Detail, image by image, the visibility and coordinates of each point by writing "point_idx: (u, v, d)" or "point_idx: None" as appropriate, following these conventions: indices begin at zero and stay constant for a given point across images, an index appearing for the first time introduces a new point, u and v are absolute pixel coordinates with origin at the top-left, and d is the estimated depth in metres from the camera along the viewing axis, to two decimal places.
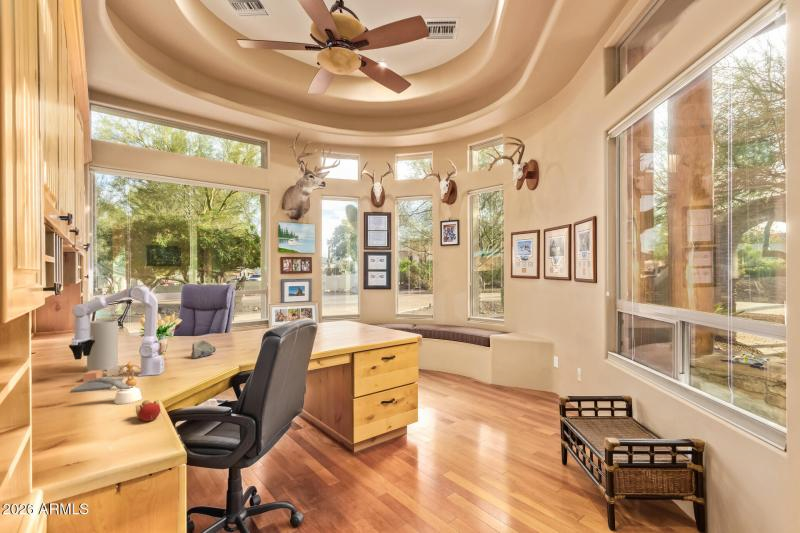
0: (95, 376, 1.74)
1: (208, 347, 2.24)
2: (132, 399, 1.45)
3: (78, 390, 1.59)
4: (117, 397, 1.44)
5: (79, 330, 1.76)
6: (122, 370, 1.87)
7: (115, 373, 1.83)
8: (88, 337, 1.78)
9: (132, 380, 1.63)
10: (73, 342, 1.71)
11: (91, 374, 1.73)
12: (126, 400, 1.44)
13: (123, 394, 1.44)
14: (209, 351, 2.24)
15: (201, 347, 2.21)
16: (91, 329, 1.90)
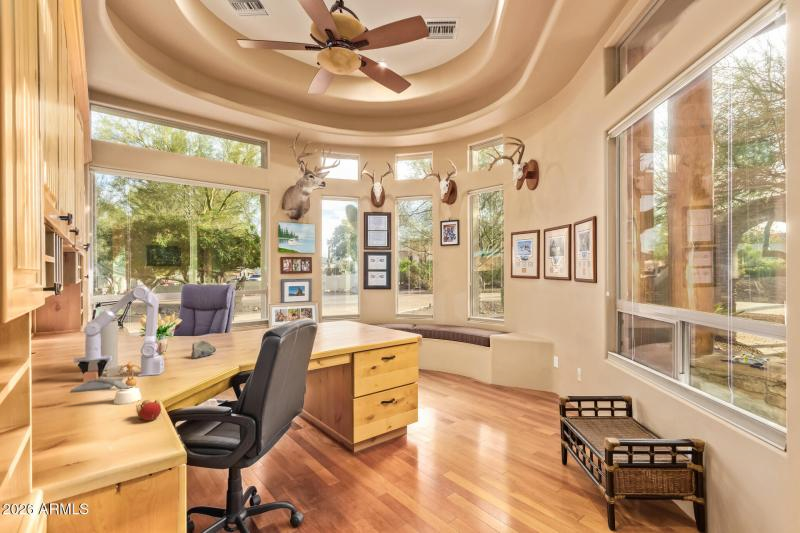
0: (95, 376, 1.74)
1: (208, 348, 2.24)
2: (132, 399, 1.45)
3: (78, 390, 1.59)
4: (117, 397, 1.44)
5: None
6: (122, 370, 1.87)
7: (115, 373, 1.83)
8: (88, 358, 1.73)
9: (132, 380, 1.63)
10: None
11: (91, 374, 1.73)
12: (126, 400, 1.44)
13: (123, 394, 1.44)
14: (209, 351, 2.24)
15: (201, 347, 2.20)
16: None
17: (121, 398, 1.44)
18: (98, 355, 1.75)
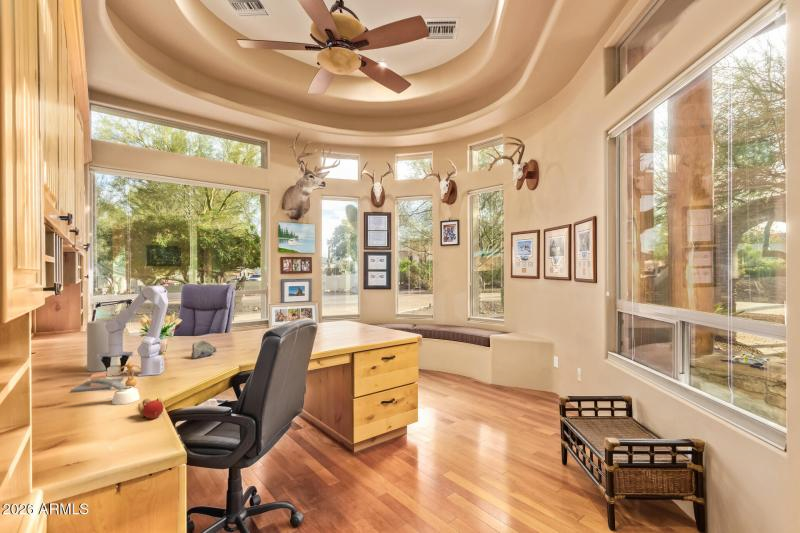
0: None
1: (208, 348, 2.23)
2: (131, 399, 1.45)
3: (78, 390, 1.59)
4: (115, 398, 1.43)
5: None
6: None
7: (116, 373, 1.83)
8: (111, 353, 1.82)
9: (132, 380, 1.63)
10: None
11: (99, 377, 1.64)
12: (125, 400, 1.44)
13: (122, 394, 1.44)
14: (209, 351, 2.23)
15: (201, 347, 2.20)
16: (91, 329, 1.89)
17: (120, 398, 1.43)
18: (120, 350, 1.85)
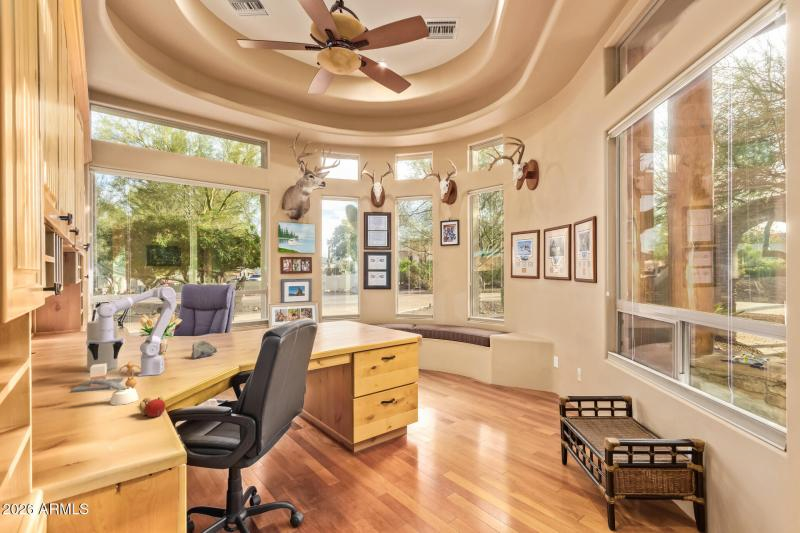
0: None
1: (208, 348, 2.22)
2: (130, 399, 1.45)
3: (78, 390, 1.59)
4: (114, 398, 1.43)
5: None
6: (106, 369, 1.70)
7: (100, 372, 1.65)
8: (101, 339, 1.70)
9: (132, 380, 1.63)
10: None
11: (99, 377, 1.64)
12: (124, 401, 1.43)
13: (121, 395, 1.43)
14: (209, 352, 2.22)
15: (201, 347, 2.20)
16: (91, 329, 1.90)
17: (119, 399, 1.43)
18: (111, 337, 1.73)
